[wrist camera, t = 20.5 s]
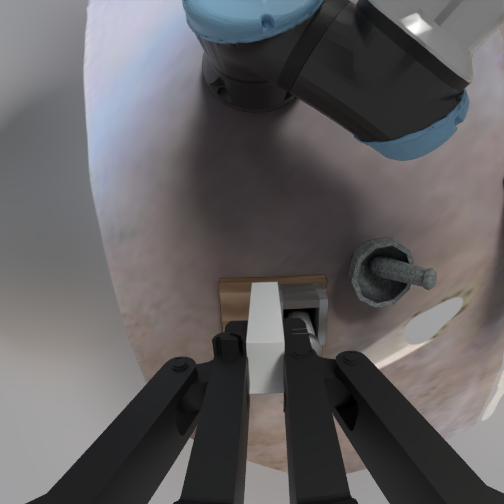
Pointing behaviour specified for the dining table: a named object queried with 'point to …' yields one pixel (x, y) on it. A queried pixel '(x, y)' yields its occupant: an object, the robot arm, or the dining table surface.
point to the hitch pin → (305, 317)
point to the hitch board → (290, 294)
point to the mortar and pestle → (385, 272)
